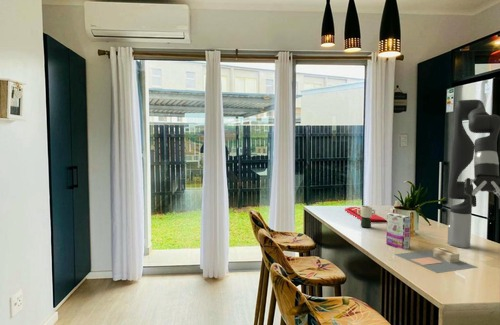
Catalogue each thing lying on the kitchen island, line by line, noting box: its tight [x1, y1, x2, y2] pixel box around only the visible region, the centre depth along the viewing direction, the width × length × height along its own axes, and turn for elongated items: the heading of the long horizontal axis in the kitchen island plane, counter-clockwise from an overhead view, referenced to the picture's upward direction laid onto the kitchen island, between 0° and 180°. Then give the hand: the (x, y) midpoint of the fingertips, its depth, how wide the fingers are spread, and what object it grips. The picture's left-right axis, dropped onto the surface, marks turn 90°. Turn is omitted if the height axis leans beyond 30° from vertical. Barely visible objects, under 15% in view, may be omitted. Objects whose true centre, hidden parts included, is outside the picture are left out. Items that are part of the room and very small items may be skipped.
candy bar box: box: [386, 212, 412, 250], centre depth 170 cm, size 11×5×16 cm, turn 23°
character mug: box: [357, 205, 376, 228], centre depth 211 cm, size 11×7×13 cm, turn 82°
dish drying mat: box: [344, 206, 387, 222], centre depth 243 cm, size 16×41×4 cm, turn 3°
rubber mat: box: [394, 249, 478, 274], centre depth 149 cm, size 24×22×1 cm
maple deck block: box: [432, 247, 460, 263], centre depth 151 cm, size 9×5×4 cm, turn 18°
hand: (487, 207), depth 122 cm, fingers open, 8 cm apart
